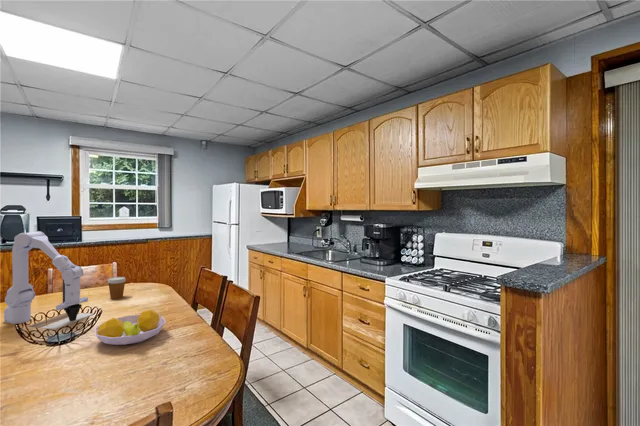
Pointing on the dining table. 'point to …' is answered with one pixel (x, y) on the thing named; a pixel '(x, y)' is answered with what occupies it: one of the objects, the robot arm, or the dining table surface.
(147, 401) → the dining table surface
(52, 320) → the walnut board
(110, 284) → the disposable coffee cup
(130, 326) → the fruit bowl
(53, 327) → the grey plank
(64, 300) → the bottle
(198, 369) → the dining table surface
